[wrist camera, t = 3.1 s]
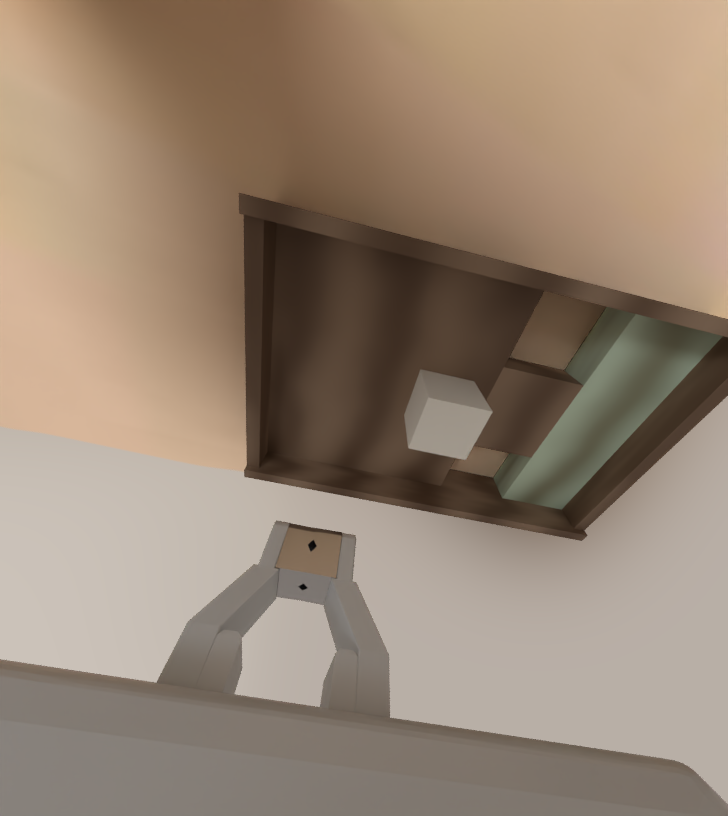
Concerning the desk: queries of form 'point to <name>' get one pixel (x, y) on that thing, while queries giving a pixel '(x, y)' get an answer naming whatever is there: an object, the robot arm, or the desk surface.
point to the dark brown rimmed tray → (455, 374)
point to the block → (445, 415)
